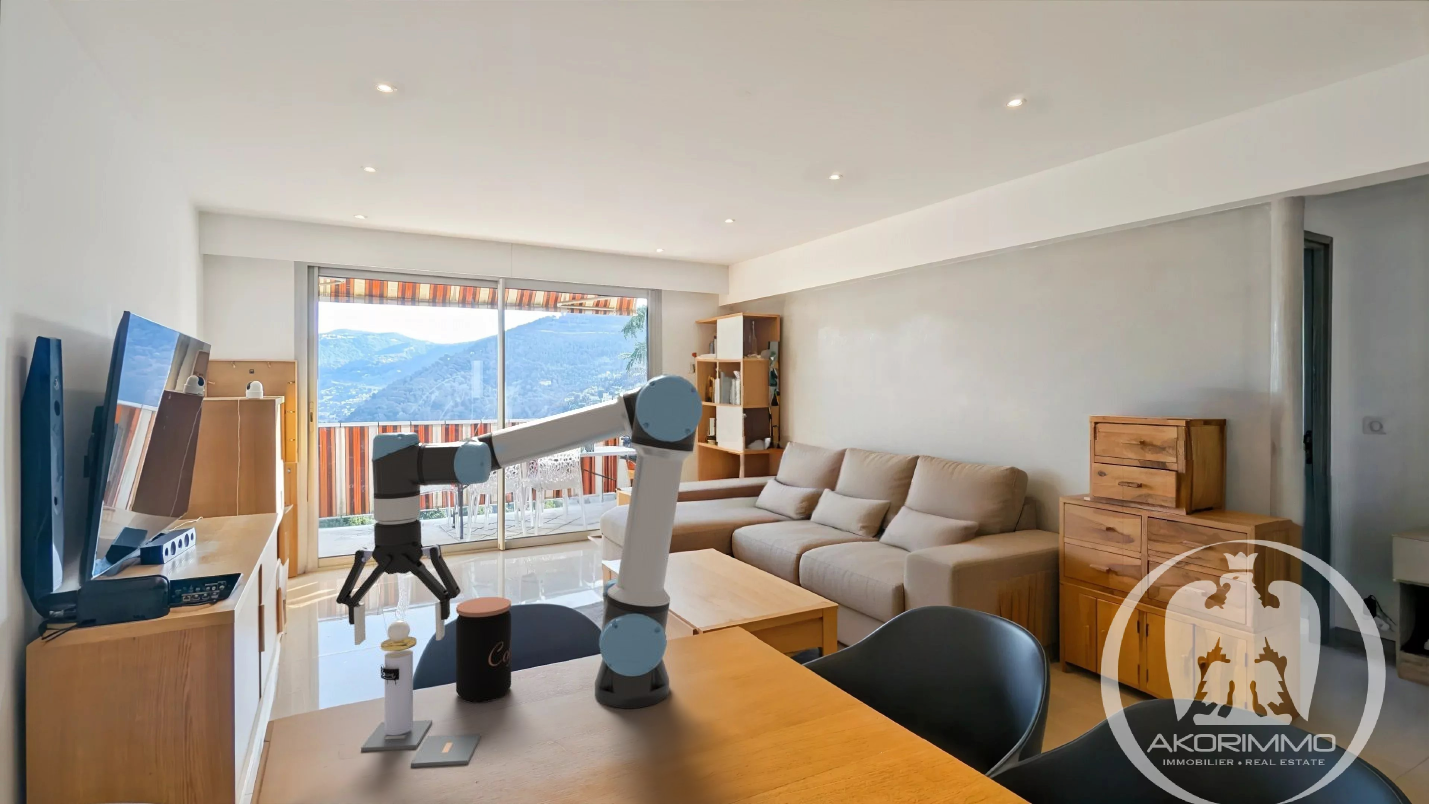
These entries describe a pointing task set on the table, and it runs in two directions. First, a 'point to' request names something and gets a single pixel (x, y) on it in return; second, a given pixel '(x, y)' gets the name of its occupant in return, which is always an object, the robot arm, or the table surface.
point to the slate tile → (446, 750)
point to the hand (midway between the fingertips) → (400, 640)
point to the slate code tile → (397, 737)
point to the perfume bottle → (398, 678)
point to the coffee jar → (483, 649)
